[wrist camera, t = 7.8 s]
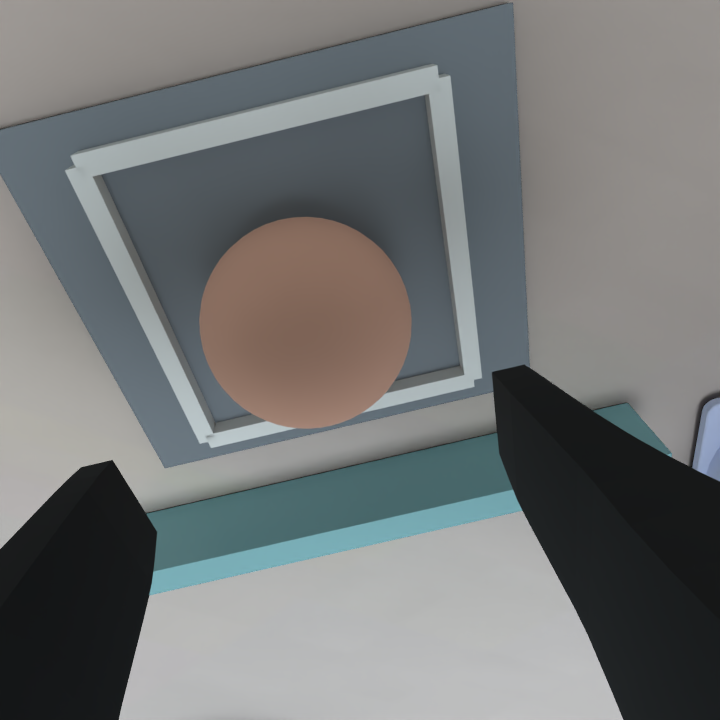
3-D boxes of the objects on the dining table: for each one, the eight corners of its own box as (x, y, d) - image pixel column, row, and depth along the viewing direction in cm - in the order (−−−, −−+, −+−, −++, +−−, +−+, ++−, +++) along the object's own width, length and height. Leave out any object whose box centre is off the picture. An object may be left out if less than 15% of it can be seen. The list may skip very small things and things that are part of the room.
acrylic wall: (627, 402, 22) (671, 453, 19) (625, 425, 22) (668, 477, 20) (142, 514, 22) (123, 578, 19) (155, 533, 23) (137, 597, 20)
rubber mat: (507, 3, 14) (521, 1, 13) (526, 377, 20) (536, 392, 20) (-15, 132, 14) (-33, 139, 13) (166, 460, 21) (161, 479, 20)
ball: (374, 171, 15) (413, 235, 11) (405, 336, 18) (447, 443, 14) (184, 218, 16) (139, 302, 11) (246, 375, 18) (232, 495, 14)
